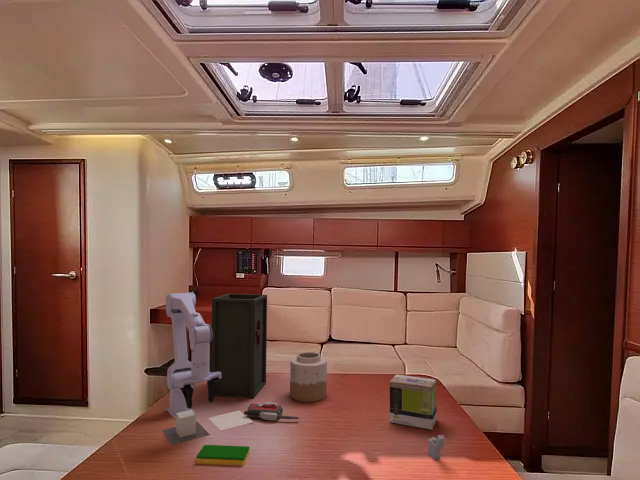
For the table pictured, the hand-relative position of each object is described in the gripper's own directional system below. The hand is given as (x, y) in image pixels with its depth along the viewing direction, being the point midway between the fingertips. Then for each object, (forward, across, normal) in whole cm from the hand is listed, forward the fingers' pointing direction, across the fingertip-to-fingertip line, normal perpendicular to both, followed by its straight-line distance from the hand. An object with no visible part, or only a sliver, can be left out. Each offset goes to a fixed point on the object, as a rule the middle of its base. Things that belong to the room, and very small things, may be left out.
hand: (200, 404), depth 133 cm
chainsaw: (+10, +26, -5) cm, 28 cm away
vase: (+10, +50, +3) cm, 51 cm away
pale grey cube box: (+9, -3, +4) cm, 10 cm away
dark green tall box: (+9, +33, +28) cm, 44 cm away
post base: (+10, -3, +4) cm, 11 cm away
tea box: (+11, +61, -41) cm, 74 cm away
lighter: (+12, +43, -61) cm, 75 cm away
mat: (+10, +13, +2) cm, 16 cm away
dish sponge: (+11, -2, -18) cm, 21 cm away
